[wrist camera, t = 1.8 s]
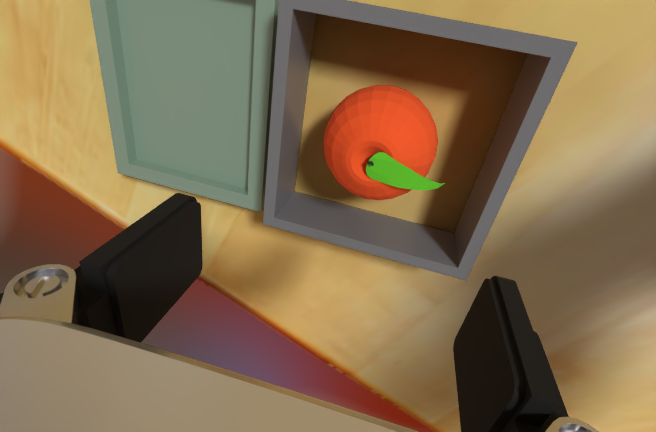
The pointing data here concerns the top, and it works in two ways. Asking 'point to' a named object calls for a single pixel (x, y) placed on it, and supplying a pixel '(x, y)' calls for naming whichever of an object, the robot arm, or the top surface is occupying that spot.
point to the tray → (190, 92)
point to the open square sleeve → (373, 228)
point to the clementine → (381, 143)
